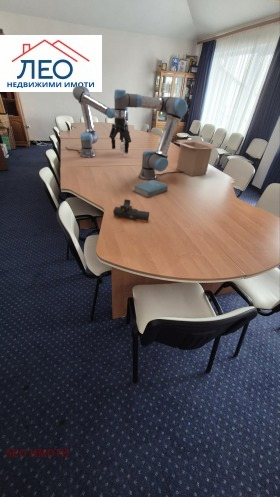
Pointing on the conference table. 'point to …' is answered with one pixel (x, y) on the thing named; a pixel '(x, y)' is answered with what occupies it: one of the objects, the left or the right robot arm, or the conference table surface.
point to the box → (194, 157)
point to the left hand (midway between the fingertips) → (124, 147)
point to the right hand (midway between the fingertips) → (119, 150)
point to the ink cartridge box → (122, 147)
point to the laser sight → (130, 212)
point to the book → (150, 188)
